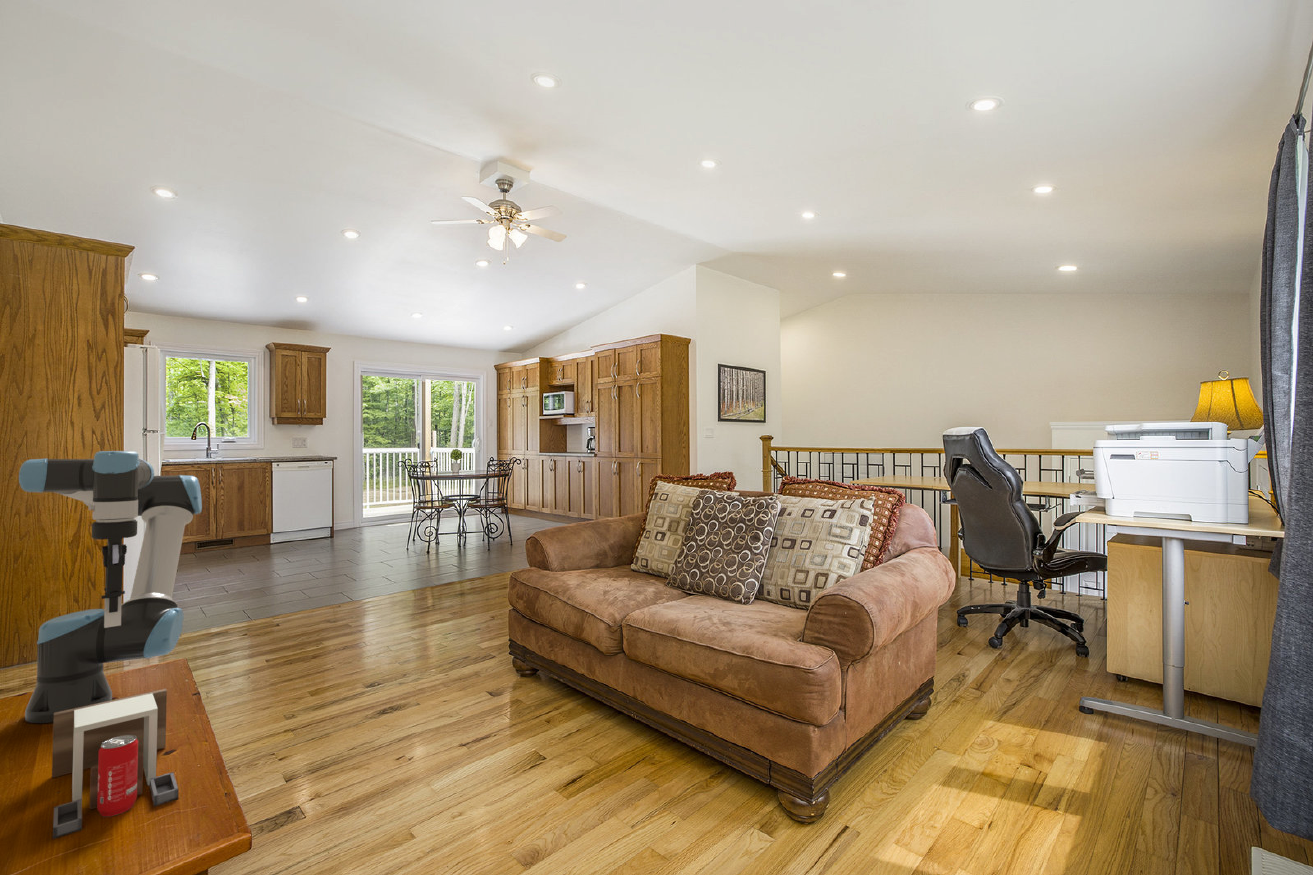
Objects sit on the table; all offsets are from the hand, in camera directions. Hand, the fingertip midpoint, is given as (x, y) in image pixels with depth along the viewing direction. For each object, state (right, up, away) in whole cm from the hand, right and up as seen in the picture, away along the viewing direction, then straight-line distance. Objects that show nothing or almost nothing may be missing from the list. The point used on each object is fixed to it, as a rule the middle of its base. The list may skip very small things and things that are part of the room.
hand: (112, 625), depth 132 cm
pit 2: (+29, -24, -22) cm, 44 cm away
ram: (+16, -24, -17) cm, 34 cm away
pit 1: (+20, -24, -31) cm, 44 cm away
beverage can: (+25, -24, -27) cm, 44 cm away
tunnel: (+18, -24, -19) cm, 35 cm away
